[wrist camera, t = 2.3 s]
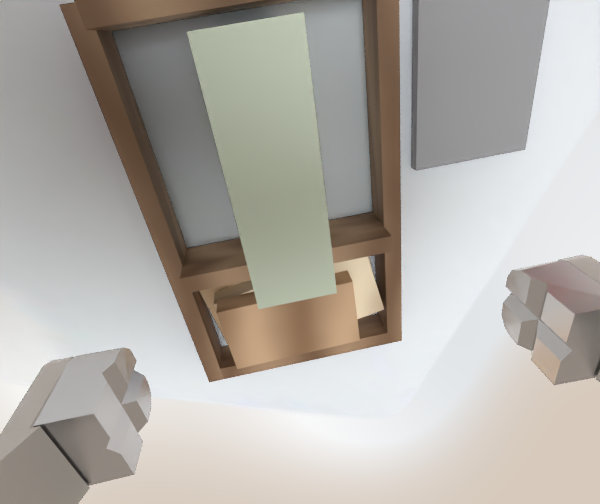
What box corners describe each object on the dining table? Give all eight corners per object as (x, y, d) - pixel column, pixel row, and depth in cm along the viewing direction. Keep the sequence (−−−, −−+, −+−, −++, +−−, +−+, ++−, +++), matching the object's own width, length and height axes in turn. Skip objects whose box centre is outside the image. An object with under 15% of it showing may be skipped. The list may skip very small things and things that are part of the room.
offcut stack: (232, 340, 33) (231, 381, 29) (199, 277, 29) (193, 313, 25) (374, 295, 32) (392, 330, 29) (358, 226, 29) (377, 254, 25)
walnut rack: (211, 359, 33) (208, 397, 29) (78, 8, 20) (45, 2, 16) (391, 321, 34) (408, 353, 30) (381, -41, 20) (411, -57, 17)
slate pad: (411, 167, 27) (416, 170, 26) (414, -144, 18) (421, -151, 18) (517, 146, 27) (525, 149, 26) (566, -167, 19) (578, -175, 18)
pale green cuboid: (251, 223, 27) (258, 309, 19) (207, 34, 21) (186, 31, 12) (305, 213, 27) (336, 293, 19) (276, 23, 21) (304, 11, 13)
